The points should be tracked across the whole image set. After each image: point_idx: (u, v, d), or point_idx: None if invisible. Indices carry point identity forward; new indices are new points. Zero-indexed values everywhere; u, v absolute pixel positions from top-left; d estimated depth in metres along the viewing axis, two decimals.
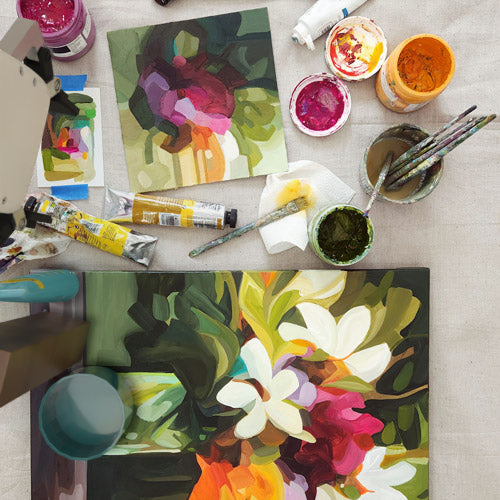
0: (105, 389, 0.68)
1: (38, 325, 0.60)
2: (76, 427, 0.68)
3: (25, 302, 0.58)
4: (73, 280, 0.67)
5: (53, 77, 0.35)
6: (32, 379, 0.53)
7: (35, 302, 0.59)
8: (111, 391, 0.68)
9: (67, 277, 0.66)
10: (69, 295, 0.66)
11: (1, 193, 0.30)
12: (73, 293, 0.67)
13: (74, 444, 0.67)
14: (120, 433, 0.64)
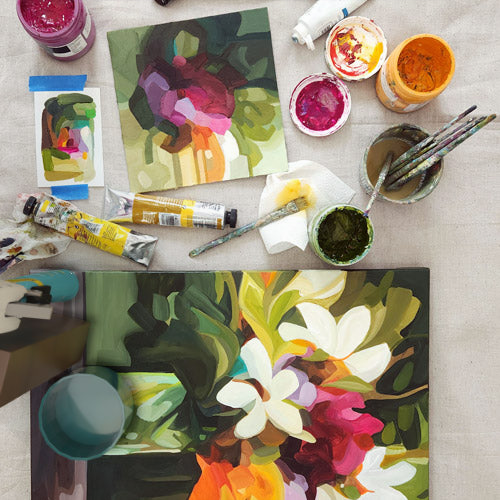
0: (105, 389, 0.68)
1: (38, 325, 0.60)
2: (76, 427, 0.68)
3: (25, 302, 0.58)
4: (73, 280, 0.67)
5: None
6: (32, 379, 0.53)
7: None
8: (111, 391, 0.68)
9: (67, 277, 0.66)
10: (69, 295, 0.66)
11: (1, 284, 0.45)
12: (73, 293, 0.67)
13: (74, 444, 0.67)
14: (120, 433, 0.64)
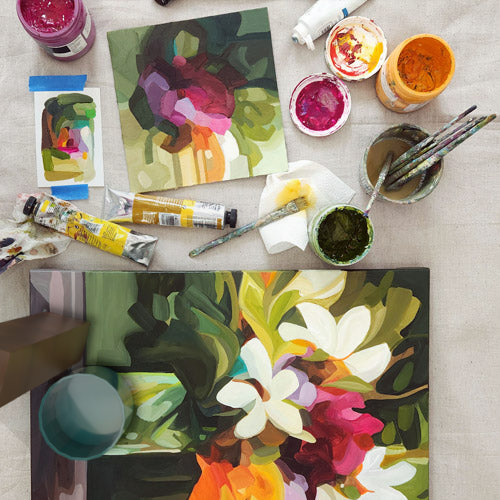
0: (105, 389, 0.68)
1: (38, 325, 0.60)
2: (76, 427, 0.68)
3: None
4: None
5: None
6: (32, 379, 0.53)
7: None
8: (111, 391, 0.68)
9: None
10: None
11: None
12: None
13: (74, 444, 0.67)
14: (120, 433, 0.64)
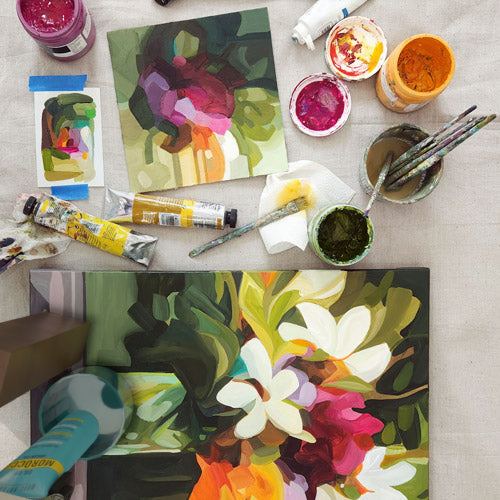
0: (105, 389, 0.68)
1: (38, 325, 0.60)
2: None
3: None
4: (93, 427, 0.59)
5: None
6: (32, 379, 0.53)
7: None
8: (111, 391, 0.68)
9: (86, 428, 0.57)
10: (89, 446, 0.58)
11: None
12: (92, 442, 0.59)
13: None
14: (120, 433, 0.64)
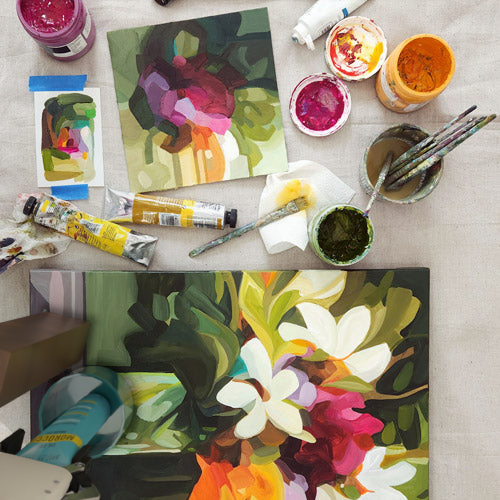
0: (105, 389, 0.68)
1: (38, 325, 0.60)
2: None
3: None
4: (105, 408, 0.65)
5: None
6: (32, 379, 0.53)
7: None
8: (111, 391, 0.68)
9: (100, 409, 0.63)
10: None
11: (48, 483, 0.42)
12: None
13: None
14: (120, 433, 0.64)
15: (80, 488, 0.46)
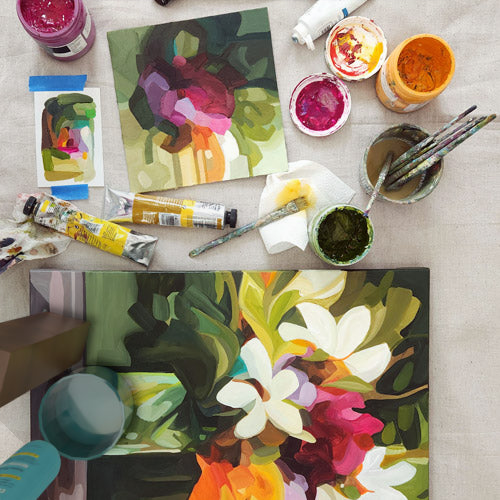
0: (105, 389, 0.68)
1: (38, 325, 0.60)
2: (76, 427, 0.68)
3: None
4: (52, 463, 0.47)
5: None
6: (32, 379, 0.53)
7: None
8: (111, 391, 0.68)
9: (42, 466, 0.46)
10: (46, 487, 0.47)
11: None
12: (51, 480, 0.48)
13: (74, 444, 0.67)
14: (120, 433, 0.64)
15: None
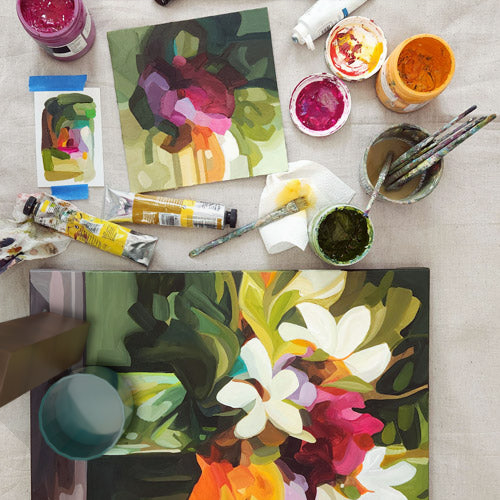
0: (105, 389, 0.68)
1: (38, 325, 0.60)
2: (76, 427, 0.68)
3: None
4: None
5: None
6: (32, 379, 0.53)
7: None
8: (111, 391, 0.68)
9: None
10: None
11: None
12: None
13: (74, 444, 0.67)
14: (120, 433, 0.64)
15: None
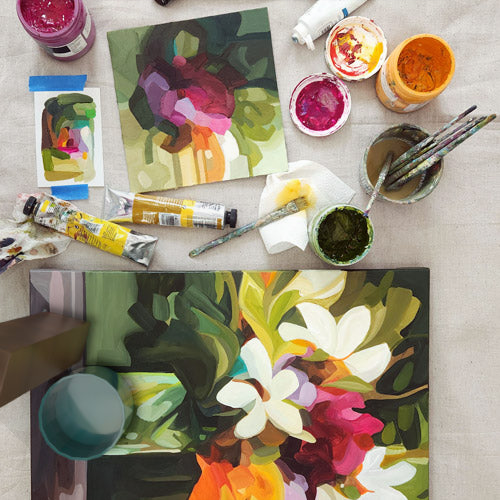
0: (105, 389, 0.68)
1: (38, 325, 0.60)
2: (76, 427, 0.68)
3: None
4: None
5: None
6: (32, 379, 0.53)
7: None
8: (111, 391, 0.68)
9: None
10: None
11: None
12: None
13: (74, 444, 0.67)
14: (120, 433, 0.64)
15: None
